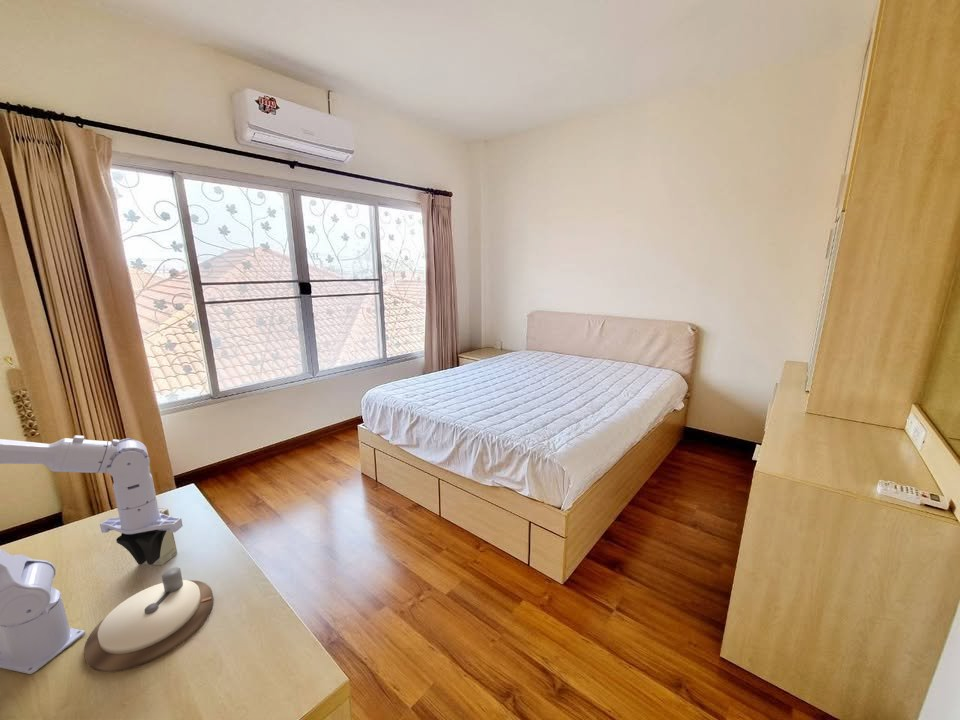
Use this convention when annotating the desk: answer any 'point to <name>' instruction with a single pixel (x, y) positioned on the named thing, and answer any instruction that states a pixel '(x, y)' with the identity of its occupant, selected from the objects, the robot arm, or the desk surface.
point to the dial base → (127, 661)
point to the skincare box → (166, 545)
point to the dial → (150, 615)
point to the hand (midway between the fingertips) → (149, 561)
